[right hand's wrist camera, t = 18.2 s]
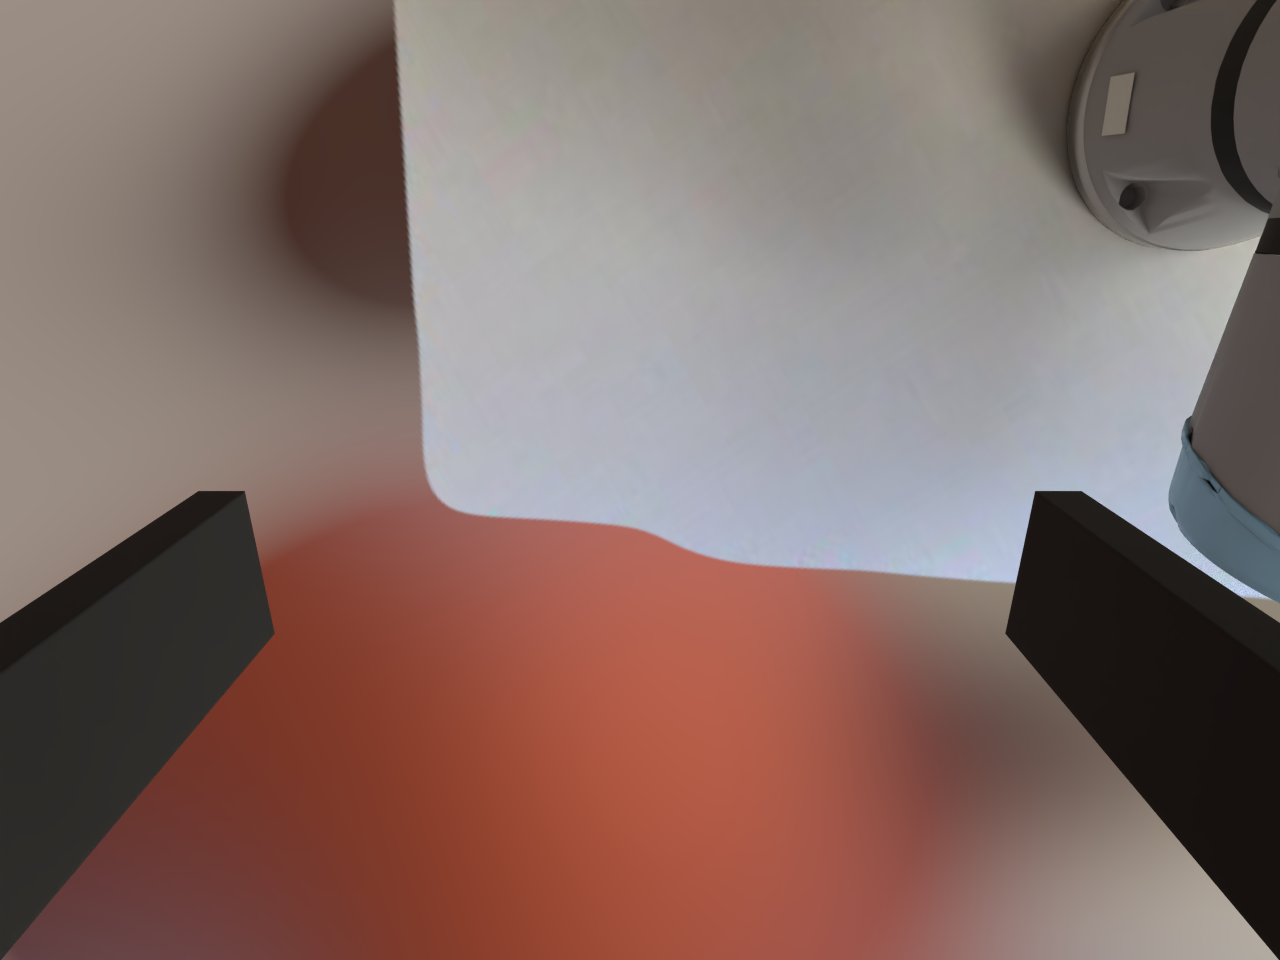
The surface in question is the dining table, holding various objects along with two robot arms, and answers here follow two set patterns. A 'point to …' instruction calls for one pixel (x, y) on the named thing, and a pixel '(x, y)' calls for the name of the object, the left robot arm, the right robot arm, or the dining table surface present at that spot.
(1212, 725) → the right robot arm
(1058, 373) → the dining table surface
